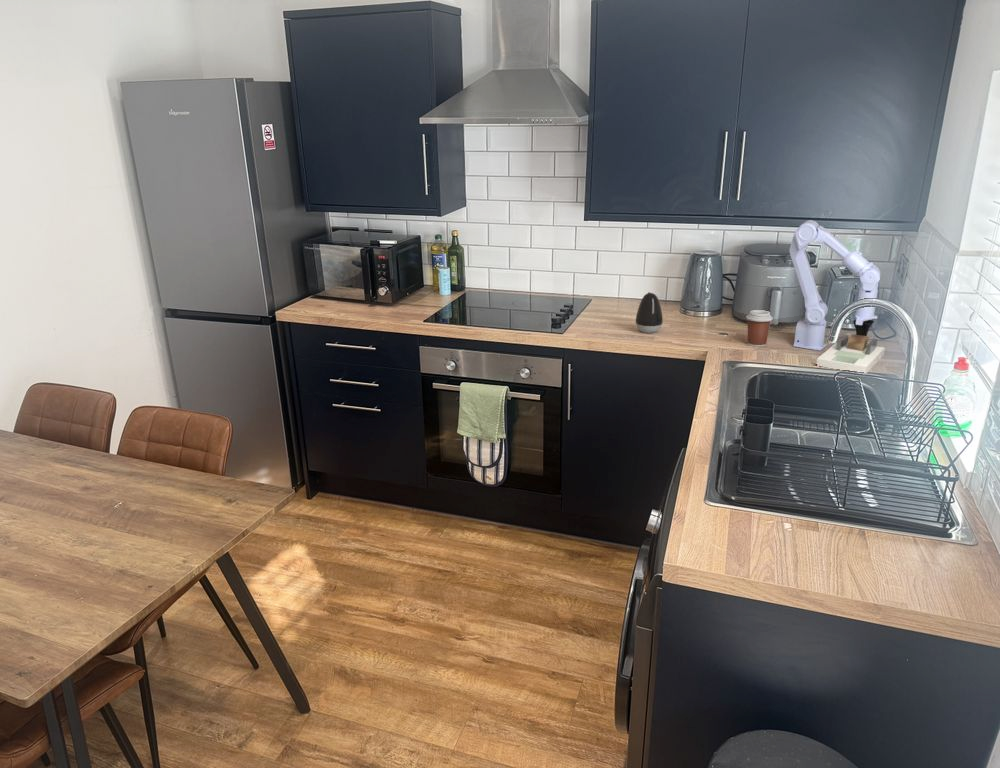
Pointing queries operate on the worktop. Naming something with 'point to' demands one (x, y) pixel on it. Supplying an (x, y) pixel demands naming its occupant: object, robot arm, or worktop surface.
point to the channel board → (850, 358)
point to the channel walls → (844, 341)
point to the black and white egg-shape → (649, 314)
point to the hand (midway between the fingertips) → (860, 341)
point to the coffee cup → (758, 327)
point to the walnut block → (857, 342)
